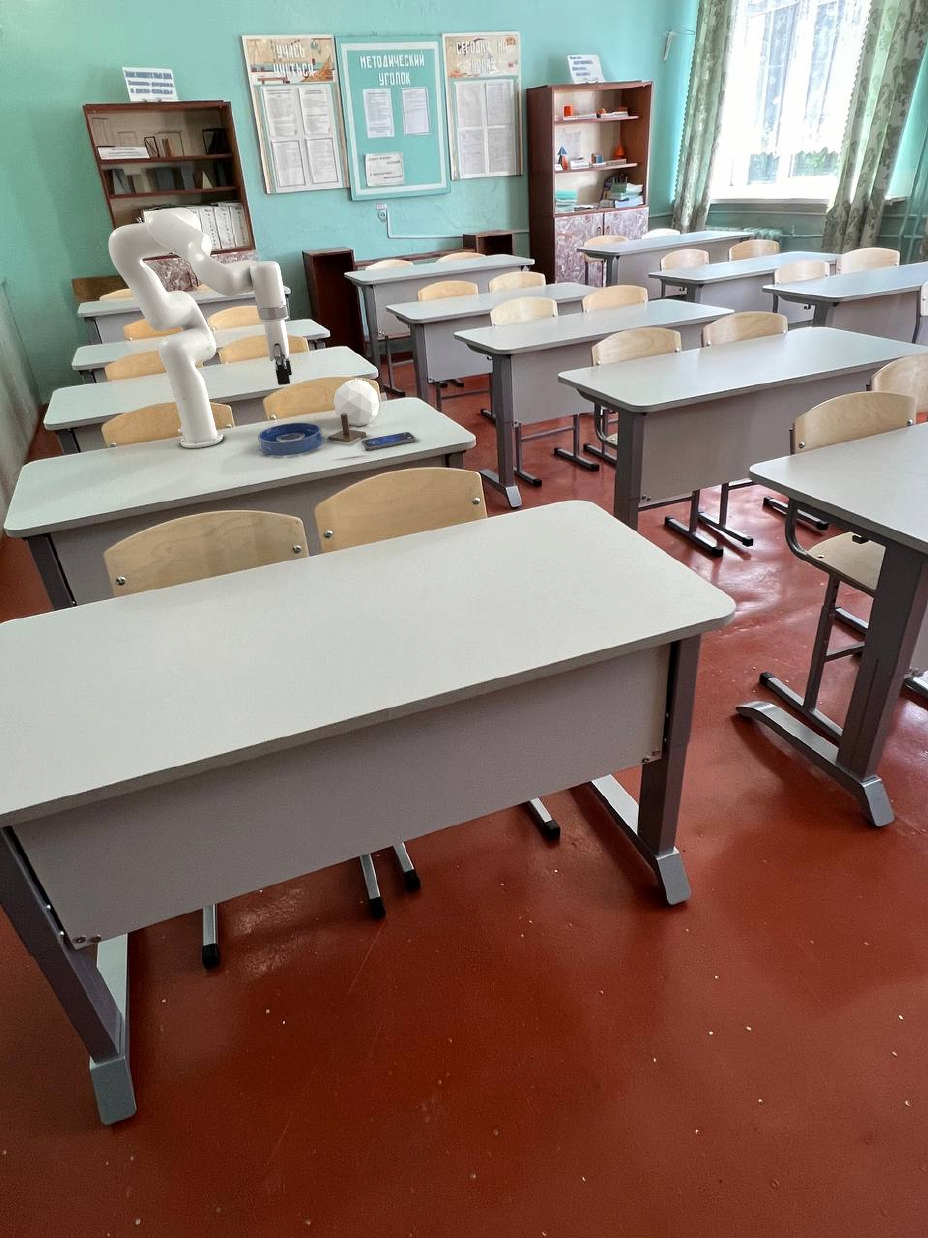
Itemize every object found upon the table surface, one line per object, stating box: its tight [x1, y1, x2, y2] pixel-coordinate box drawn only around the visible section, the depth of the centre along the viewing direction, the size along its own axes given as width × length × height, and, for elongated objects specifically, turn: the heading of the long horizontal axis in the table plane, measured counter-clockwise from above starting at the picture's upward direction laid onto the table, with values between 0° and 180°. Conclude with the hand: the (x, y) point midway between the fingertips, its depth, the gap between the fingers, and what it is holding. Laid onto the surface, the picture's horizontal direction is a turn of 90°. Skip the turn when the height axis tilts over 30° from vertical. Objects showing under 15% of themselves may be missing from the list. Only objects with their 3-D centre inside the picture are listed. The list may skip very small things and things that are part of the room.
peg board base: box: [327, 413, 367, 443], centre depth 223 cm, size 8×8×8 cm
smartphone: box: [360, 431, 417, 451], centre depth 219 cm, size 7×1×15 cm
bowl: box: [257, 422, 324, 456], centre depth 221 cm, size 18×18×4 cm
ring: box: [276, 432, 305, 442], centre depth 223 cm, size 8×8×2 cm
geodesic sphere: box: [332, 377, 380, 428], centre depth 234 cm, size 15×14×14 cm
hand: (285, 379), depth 207 cm, fingers open, 9 cm apart
